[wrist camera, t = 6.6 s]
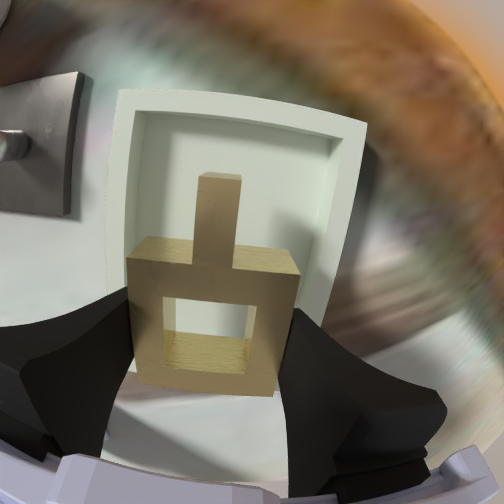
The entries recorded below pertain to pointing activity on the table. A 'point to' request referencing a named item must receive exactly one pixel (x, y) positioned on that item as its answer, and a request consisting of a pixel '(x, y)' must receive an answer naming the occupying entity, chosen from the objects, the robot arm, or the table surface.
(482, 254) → the table surface
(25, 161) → the square base with knob
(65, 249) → the table surface
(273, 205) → the tray
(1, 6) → the can
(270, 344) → the square frame with tab
